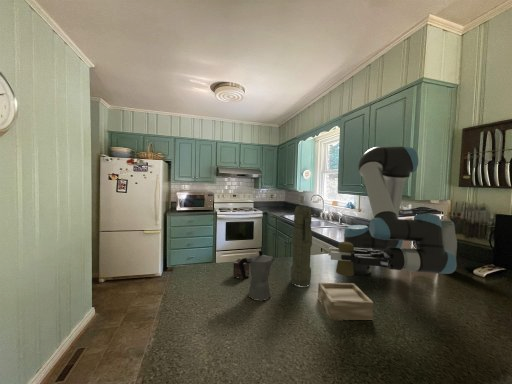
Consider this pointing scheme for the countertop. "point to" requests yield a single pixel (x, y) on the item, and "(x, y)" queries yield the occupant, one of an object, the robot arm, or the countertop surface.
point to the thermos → (301, 246)
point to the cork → (345, 266)
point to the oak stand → (345, 301)
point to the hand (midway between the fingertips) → (330, 253)
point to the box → (237, 269)
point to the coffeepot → (258, 275)
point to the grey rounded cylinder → (449, 236)
